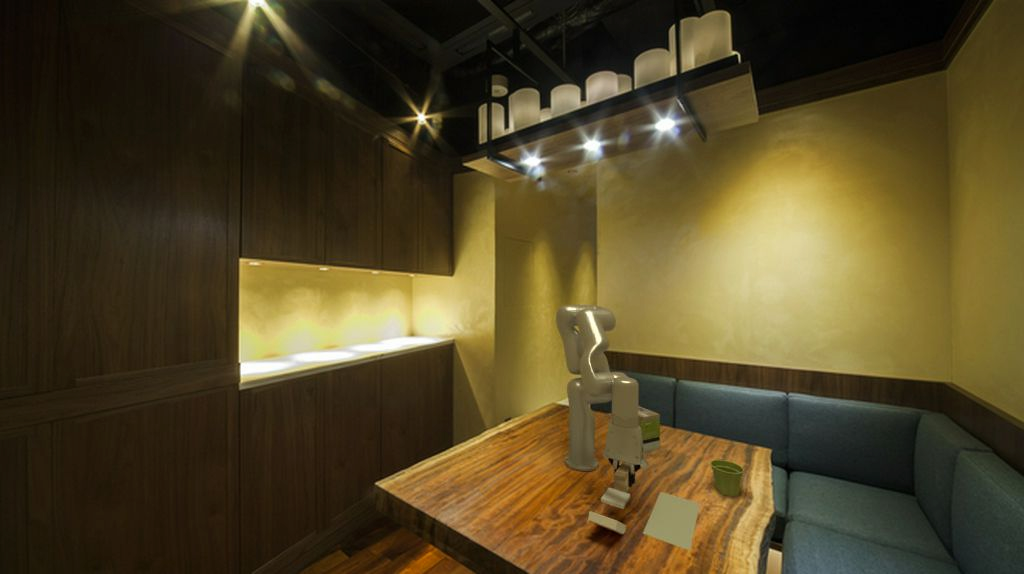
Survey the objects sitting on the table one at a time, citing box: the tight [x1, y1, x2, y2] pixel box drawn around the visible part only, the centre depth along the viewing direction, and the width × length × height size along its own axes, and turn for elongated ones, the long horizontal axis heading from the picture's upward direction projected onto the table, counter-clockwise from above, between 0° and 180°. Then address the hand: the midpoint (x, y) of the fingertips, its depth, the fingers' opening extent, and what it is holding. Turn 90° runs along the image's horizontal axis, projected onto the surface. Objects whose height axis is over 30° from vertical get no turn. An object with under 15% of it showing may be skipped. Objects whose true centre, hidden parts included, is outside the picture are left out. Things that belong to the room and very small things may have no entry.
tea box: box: [638, 405, 661, 453], centre depth 149 cm, size 15×10×15 cm, turn 25°
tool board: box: [642, 491, 701, 552], centre depth 97 cm, size 24×11×1 cm, turn 147°
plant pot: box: [709, 459, 745, 498], centre depth 112 cm, size 9×9×9 cm
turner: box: [600, 462, 638, 510], centre depth 101 cm, size 21×6×5 cm, turn 147°
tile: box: [587, 510, 627, 535], centre depth 90 cm, size 2×7×10 cm
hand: (624, 482), depth 103 cm, fingers closed on turner, 3 cm apart
